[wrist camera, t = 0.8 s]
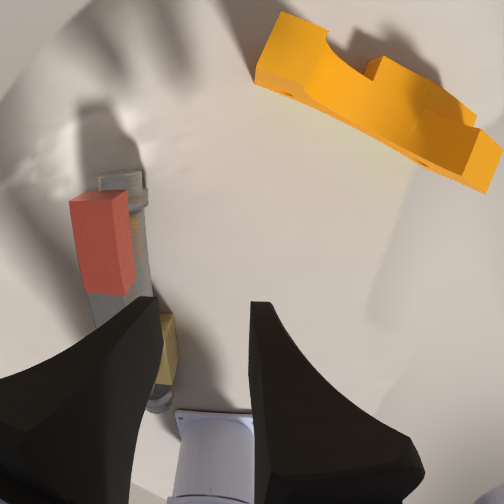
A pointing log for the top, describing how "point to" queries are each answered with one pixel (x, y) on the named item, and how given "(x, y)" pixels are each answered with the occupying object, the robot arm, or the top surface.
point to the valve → (146, 280)
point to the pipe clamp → (379, 102)
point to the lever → (105, 251)
